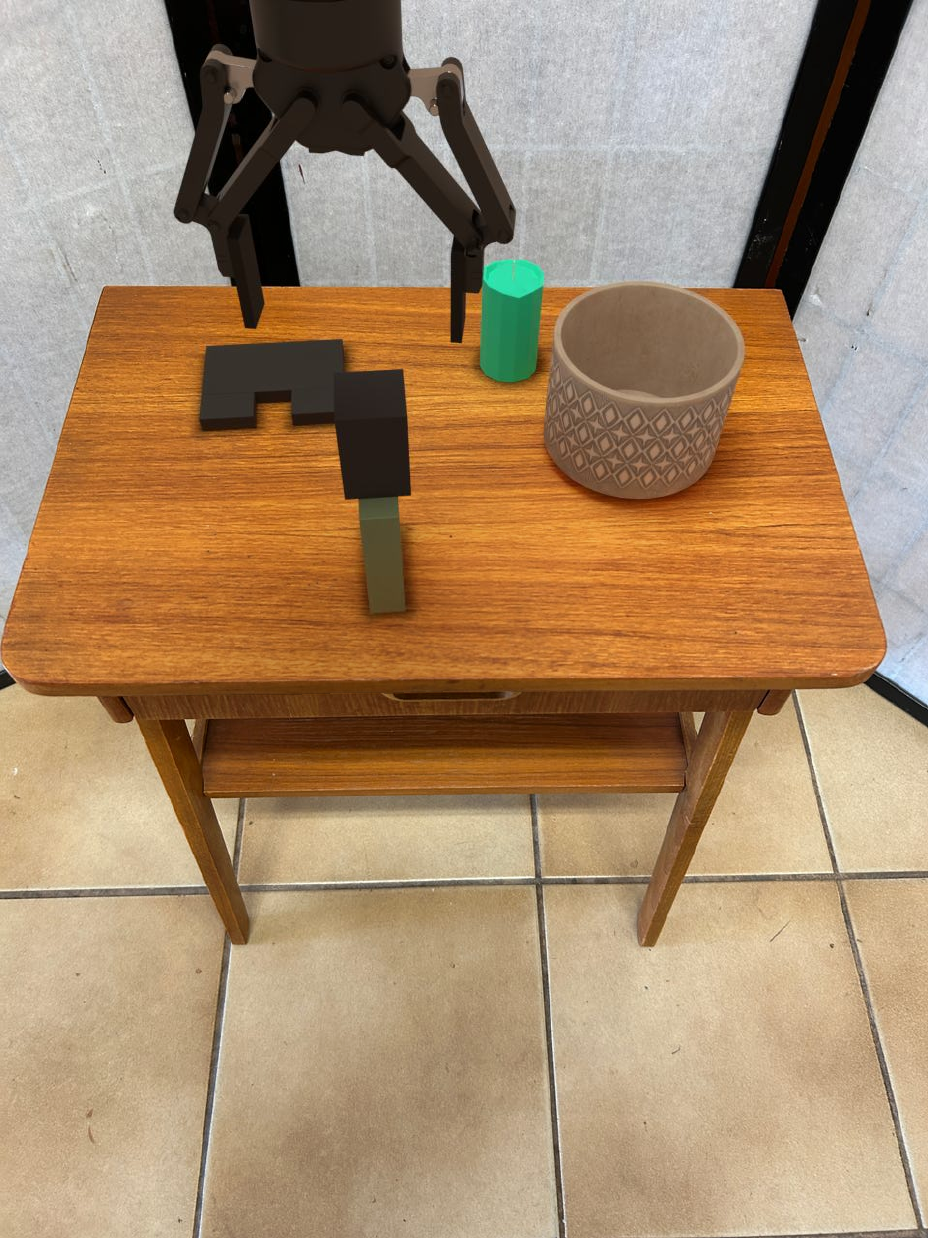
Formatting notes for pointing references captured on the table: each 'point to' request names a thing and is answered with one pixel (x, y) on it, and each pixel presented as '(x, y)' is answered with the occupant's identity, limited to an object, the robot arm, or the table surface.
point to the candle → (510, 319)
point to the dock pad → (269, 381)
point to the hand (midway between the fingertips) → (356, 323)
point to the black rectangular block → (372, 433)
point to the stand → (382, 553)
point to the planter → (640, 387)
